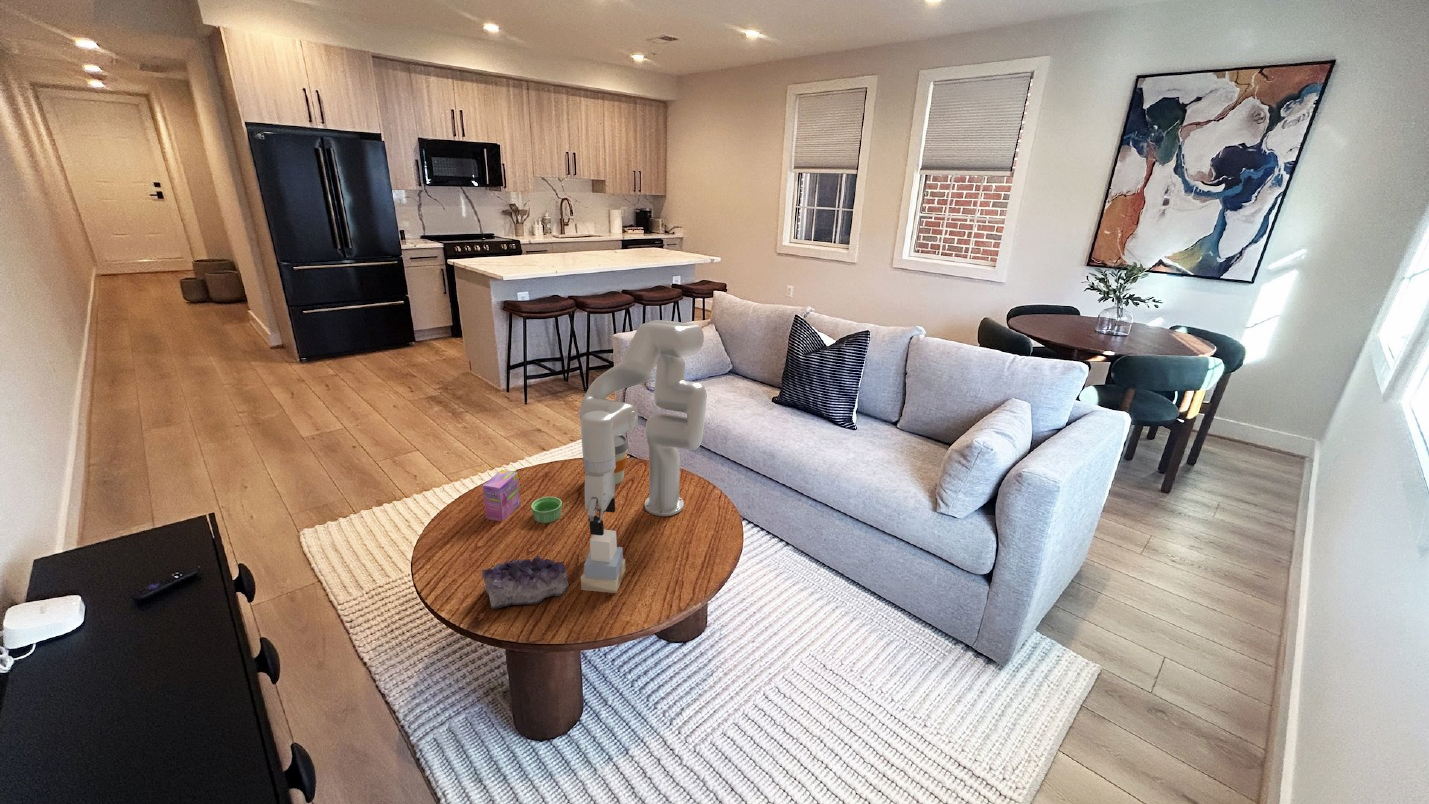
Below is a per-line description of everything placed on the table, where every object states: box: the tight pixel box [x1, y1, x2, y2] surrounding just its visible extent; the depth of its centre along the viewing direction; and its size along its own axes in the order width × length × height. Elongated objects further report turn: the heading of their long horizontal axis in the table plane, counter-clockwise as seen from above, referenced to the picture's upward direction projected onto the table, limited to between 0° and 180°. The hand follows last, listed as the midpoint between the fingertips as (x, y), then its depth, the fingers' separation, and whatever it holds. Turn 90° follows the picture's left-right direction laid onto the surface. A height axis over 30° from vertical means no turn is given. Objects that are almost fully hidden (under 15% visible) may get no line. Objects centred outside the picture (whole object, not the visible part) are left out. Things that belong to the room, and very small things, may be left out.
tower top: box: [583, 546, 624, 580], centre depth 141 cm, size 8×8×4 cm
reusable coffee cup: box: [614, 434, 629, 486], centre depth 190 cm, size 13×12×15 cm
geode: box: [481, 555, 569, 610], centre depth 136 cm, size 20×12×10 cm, turn 107°
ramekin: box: [530, 496, 563, 524], centre depth 169 cm, size 9×9×4 cm
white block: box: [589, 529, 618, 563], centre depth 139 cm, size 5×5×6 cm
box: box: [482, 469, 521, 522], centre depth 169 cm, size 10×6×12 cm, turn 168°
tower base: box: [580, 558, 626, 594], centre depth 142 cm, size 9×9×4 cm
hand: (603, 522), depth 138 cm, fingers open, 9 cm apart
